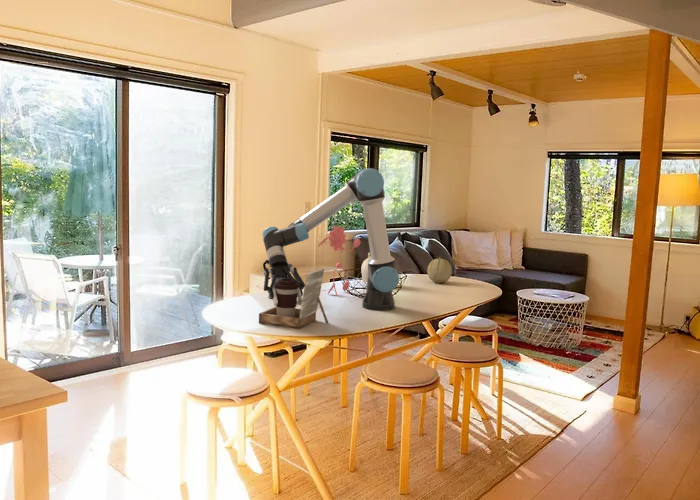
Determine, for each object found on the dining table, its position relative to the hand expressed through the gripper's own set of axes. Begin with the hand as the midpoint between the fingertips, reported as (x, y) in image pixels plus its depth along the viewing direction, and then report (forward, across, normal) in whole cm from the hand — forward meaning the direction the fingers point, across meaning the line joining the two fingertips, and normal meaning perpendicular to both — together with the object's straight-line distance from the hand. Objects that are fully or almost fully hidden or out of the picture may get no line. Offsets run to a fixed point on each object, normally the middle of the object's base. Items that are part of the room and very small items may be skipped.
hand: (288, 303), depth 235 cm
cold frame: (+6, -3, -6) cm, 9 cm away
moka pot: (-28, -11, -40) cm, 50 cm away
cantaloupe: (-40, -118, -53) cm, 135 cm away
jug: (-41, -75, -53) cm, 101 cm away
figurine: (-32, -44, -44) cm, 70 cm away
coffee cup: (+2, 0, -7) cm, 7 cm away
